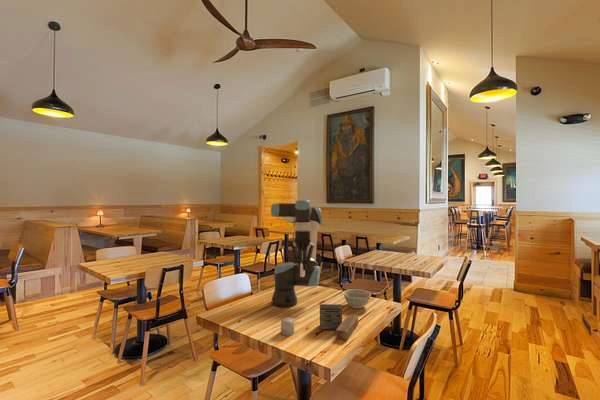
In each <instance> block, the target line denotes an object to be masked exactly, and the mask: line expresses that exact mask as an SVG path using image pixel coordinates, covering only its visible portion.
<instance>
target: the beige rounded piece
mask: <svg viewBox="0 0 600 400" xmlns="http://www.w3.org/2000/svg"><path fill="white" fill-rule="evenodd" d="M280 334H281V335H282V337H283V336H284V337H290V336H293V335H294V334H295V319H294V318H292V317H282V319H281V320H280Z"/></svg>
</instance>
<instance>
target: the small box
mask: <svg viewBox="0 0 600 400" xmlns="http://www.w3.org/2000/svg"><path fill="white" fill-rule="evenodd" d="M342 322H343V307H342V304H336V303H333V304H332V303H331V304H326V303H325V304H324V303H323V304H322V303H321V304H320V303H319V331H336V329H337V328H338V327H339V326H340V324H341V323H342Z"/></svg>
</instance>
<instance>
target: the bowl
mask: <svg viewBox="0 0 600 400" xmlns="http://www.w3.org/2000/svg"><path fill="white" fill-rule="evenodd" d="M342 294H343V296H344V299H345V301H346V302H347V304H348V305H350V307H352V308H354V309H362V308H364V306H365V305H367V304H368V303H369V301H370V298H371V296H372V293H371V292H370V291H367V290H364V289H359V288H357V289H356V288H353V289H352V288H351V289H350V288H349V289H346V290H344V291H343V292H342Z"/></svg>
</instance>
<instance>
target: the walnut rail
mask: <svg viewBox="0 0 600 400" xmlns="http://www.w3.org/2000/svg"><path fill="white" fill-rule="evenodd" d="M358 325H359V316H355V315H349V314H348V315H347V316H346V317H345V318H344V319H343V320H342V323H341V324H340V326H339V327H338V328H337V329H336V330H335V335H336V336H335V339H337V340H341V341H345V342H348V340H349V339H350V338H351V336H352V335H353V333H354V331H355V330H356V328H357V327H358Z"/></svg>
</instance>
